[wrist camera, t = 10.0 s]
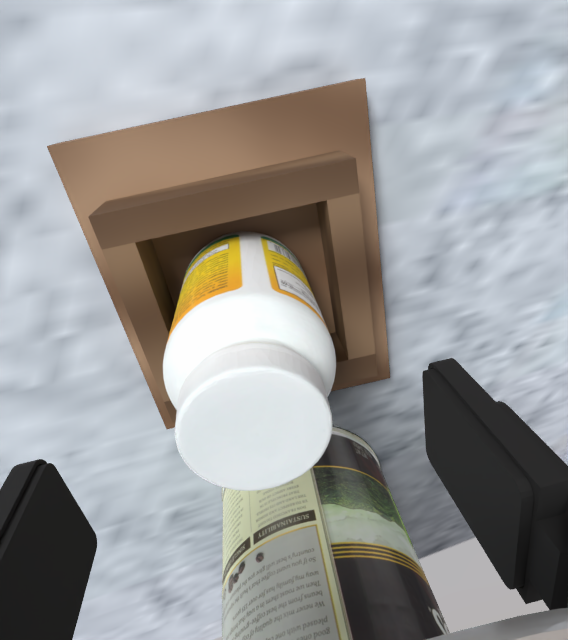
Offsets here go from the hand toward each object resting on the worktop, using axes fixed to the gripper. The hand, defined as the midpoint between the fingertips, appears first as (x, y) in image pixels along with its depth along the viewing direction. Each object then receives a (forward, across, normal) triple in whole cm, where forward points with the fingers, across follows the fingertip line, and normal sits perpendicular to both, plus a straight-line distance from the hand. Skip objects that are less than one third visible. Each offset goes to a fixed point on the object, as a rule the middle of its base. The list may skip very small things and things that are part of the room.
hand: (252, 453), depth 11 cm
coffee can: (+12, -1, +14) cm, 18 cm away
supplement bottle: (+10, 0, 0) cm, 10 cm away
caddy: (+11, -1, -1) cm, 11 cm away
